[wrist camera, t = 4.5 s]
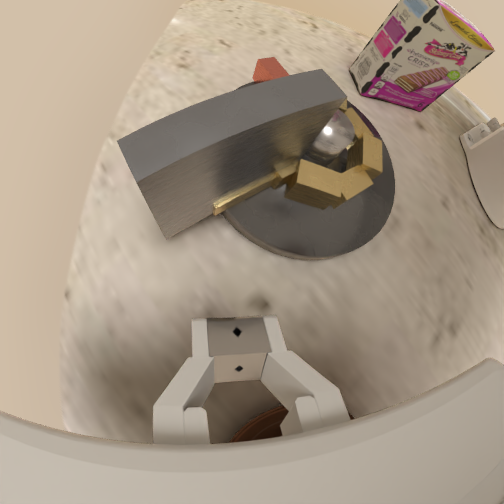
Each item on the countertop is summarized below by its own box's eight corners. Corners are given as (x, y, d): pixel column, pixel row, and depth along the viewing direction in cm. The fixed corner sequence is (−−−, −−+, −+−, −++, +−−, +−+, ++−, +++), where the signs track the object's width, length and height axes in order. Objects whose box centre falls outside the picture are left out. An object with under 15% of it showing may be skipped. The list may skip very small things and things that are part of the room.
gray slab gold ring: (319, 93, 22) (362, 25, 13) (383, 178, 21) (454, 129, 12) (130, 169, 17) (93, 83, 9) (197, 292, 17) (192, 285, 8)
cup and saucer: (279, 513, 17) (298, 551, 11) (187, 455, 17) (185, 501, 11) (371, 438, 20) (409, 463, 14) (300, 365, 20) (336, 387, 14)
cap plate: (295, 70, 25) (313, 32, 19) (407, 186, 25) (445, 164, 19) (159, 143, 20) (150, 97, 15) (302, 305, 20) (340, 307, 14)
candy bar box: (360, 98, 26) (439, 3, 10) (347, 69, 26) (411, -22, 11) (422, 114, 28) (497, 51, 12) (409, 88, 29) (474, 23, 13)
